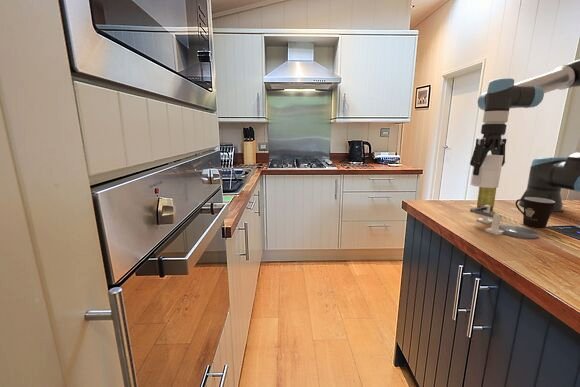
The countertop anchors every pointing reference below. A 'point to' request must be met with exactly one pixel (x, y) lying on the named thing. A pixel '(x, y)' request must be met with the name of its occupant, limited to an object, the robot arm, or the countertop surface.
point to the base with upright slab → (490, 171)
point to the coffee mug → (536, 211)
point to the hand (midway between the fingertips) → (484, 182)
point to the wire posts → (495, 222)
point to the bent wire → (479, 211)
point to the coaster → (518, 232)
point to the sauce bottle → (486, 197)
